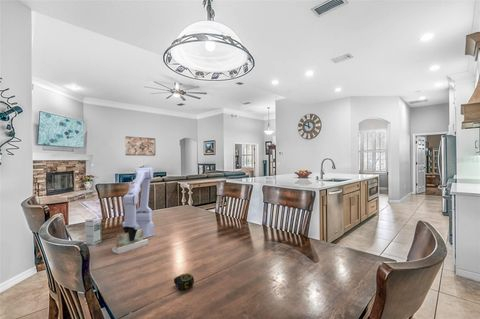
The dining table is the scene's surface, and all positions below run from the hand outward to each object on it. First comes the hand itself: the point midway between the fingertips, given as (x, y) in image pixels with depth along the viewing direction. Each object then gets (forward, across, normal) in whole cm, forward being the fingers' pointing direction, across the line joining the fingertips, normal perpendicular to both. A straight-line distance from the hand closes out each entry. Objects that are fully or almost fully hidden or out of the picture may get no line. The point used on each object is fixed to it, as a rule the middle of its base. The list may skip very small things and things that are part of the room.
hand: (130, 240), depth 131 cm
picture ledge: (+4, 0, 0) cm, 4 cm away
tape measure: (+5, +56, -9) cm, 56 cm away
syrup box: (+4, -25, -9) cm, 27 cm away
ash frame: (+4, 0, 0) cm, 4 cm away
